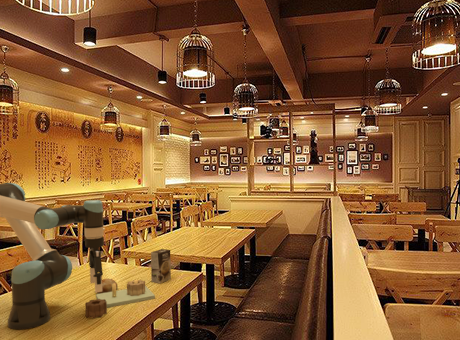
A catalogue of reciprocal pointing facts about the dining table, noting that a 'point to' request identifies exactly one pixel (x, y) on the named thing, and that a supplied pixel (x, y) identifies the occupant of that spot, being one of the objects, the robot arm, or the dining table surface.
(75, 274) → the dining table surface
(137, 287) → the beech gear
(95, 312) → the walnut gear
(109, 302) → the gear board
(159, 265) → the coffee box
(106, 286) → the bread roll
